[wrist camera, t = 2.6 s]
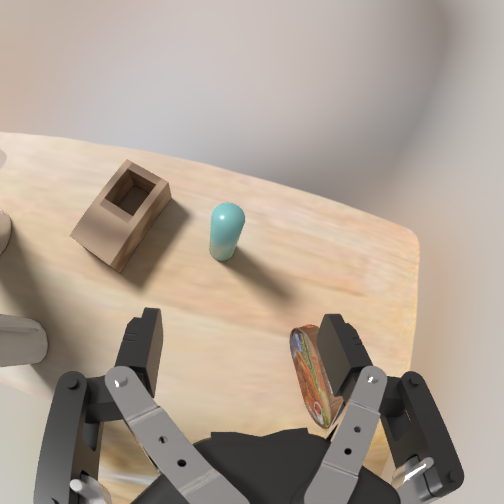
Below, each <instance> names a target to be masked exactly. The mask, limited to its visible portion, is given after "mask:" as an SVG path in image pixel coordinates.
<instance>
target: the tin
mask: <svg viewBox="0 0 504 504" xmlns="http://www.w3.org/2000/svg"><path fill="white" fill-rule="evenodd" d="M319 329H320V328H319V327H317V326H315V325H306V326H303V327H300V328H294V329H293V330H292V331H291V334H290V349H291V354H292V358H293V361H294V365H295V369H296V372H297V376H298V380H299V384H300V388H301V391H302V395H303V399H304V402H305V405H306V407H307V409H308V411H309V413H310V415H311V417H312V418H313V420H314V421H315V422H316V423H317V424H318V425H319V426H320V427H322V428H324V429H327V428H329V427H330V426H331V424H332V422H333V420H334V418H335V416H336V414H337V411H338V409H339V407H340V405H341V403H342V401H343V397H342V396H339V397H334V395H333V392H332V389H331V386H330V383H329V380H328V377H327V374H326V371H325V368H324V365H323V363H322V360H321V357H320V354H319V351H318V348H317V344H316V339H317V334H318V331H319Z"/></svg>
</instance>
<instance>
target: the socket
mask: <svg viewBox="0 0 504 504" xmlns="http://www.w3.org/2000/svg"><path fill="white" fill-rule="evenodd" d="M133 185H136V186H138V187H139V188H141V189H143V190H145V191H146V192H148V193H150V194H149V195H148V197H147V198H146V199H145V201H144V202H143V203H142V205H141V206H140V207H139V209H138V210H137V212H136V213H135V214H134V216H131V215H130V214H128V213H127V212H125V211H124V210H122V209H120V208H119V207H117V206H118V205H119V204H120V202H121V201H122V200H123V198H124V197H125V196H126V194H127V193H128V192H129V191H130V189H131V188H132V187H133ZM171 198H172V197H171V193H170V188H169V183H168V182H167V181H165V180H164V179H162V178H160V177H158V176H156V175H155V174H153V173H151V172H149V171H147V170H145V169H144V168H142V167H140V166H138V165H136V164H135V163H133V162H131V161H129V160H126V161H125V162H124V163H123V164H122V166H121V167H120V168H119V169H118V170H117V172H116V173H115V174H114V175H113V177H112V178H111V179H110V180H109V182H108V183H107V184H106V185H105V187H104V188H103V189H102V191H101V192H100V193H99V195H98V196H97V197H96V199H95V200H94V201H93V203H92V204H91V205H90V207H89V208H88V209H87V211H86V212H85V214H84V215H83V217H82V218H81V219H80V221H79V222H78V224H77V225H76V227H75V228H74V230H73V231H72V233H71V234H70V236H71V237H72V238H73V239H74V240H76V241H77V242H78V243H79V244H81V245H82V246H83V247H85V248H86V249H87V250H89V251H90V252H91V253H93V254H94V255H95V256H97V257H98V258H99V259H101V260H102V261H104V262H105V263H106V264H108V265H109V266H111V267H112V268H113V269H115V270H116V271H118V272H119V273H121V271H122V269H123V268H124V266H125V265H126V263H127V262H128V260H129V258H130V257H131V255H132V254H133V252H134V251H135V249H136V248H137V246H138V245H139V243H140V242H141V240H142V239H143V237H144V236H145V234H146V233H147V231H148V230H149V229H150V227H151V226H152V224H153V223H154V221H155V220H156V219H157V217H158V216H159V214H160V213H161V212H162V210H163V209H164V207H165V206H166V205H167V203H168V202H169V200H170V199H171Z"/></svg>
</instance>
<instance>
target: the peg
mask: <svg viewBox="0 0 504 504" xmlns="http://www.w3.org/2000/svg"><path fill="white" fill-rule="evenodd" d="M244 223H245V215H244V212H243V210H242V209H241V208H240V207H239V206H237V205H236V204H233V203H223V204H220V205H218V206H217V207H216V208H215V209H214V211H213V213H212V219H211V234H210V254H211V255H212V257H213V258H214V259H216V260H218V261H226V260H228V259H230V258H231V257H232V255H233V253H234V250H235V248H236V245H237V242H238V239H239V236H240V234H241V231H242V228H243V225H244Z"/></svg>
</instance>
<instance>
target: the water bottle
mask: <svg viewBox="0 0 504 504" xmlns="http://www.w3.org/2000/svg"><path fill="white" fill-rule="evenodd" d="M47 348H48V342H47V337H46V332H45V331H44V329H43V328H42V326H41V325H40V323H38V322H36V321H34V320H32V319H29V318H22V317H15V316H9V315H3V314H0V367H6V366H16V365H25V364H33V363H40V362H41V361H42V360H43V358H44V357H45V356H46V353H47Z"/></svg>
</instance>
